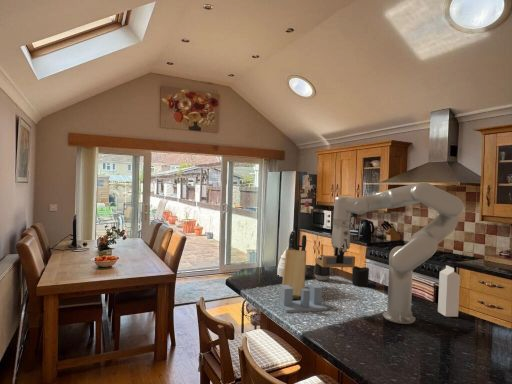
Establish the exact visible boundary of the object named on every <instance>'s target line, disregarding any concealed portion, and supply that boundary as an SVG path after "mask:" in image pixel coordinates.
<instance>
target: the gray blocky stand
mask: <svg viewBox="0 0 512 384" xmlns="http://www.w3.org/2000/svg"><path fill="white" fill-rule="evenodd" d="M279 294H280V295H279V301H278V305H279V306H280V307H281V309H282V310H284V311H285V313H286V314H287V313H288V314H289V313H301V312H302V313H304V312H321V311H328V309H329V307H328V306H326V305H325V304H324V303H323V286H321V285H320V284H318V283H309V285H308V288H304V289H301V300H299V299H297V300H294V299H293V288H292V287H290V286H289V285H282V284H281V285H280V292H279Z"/></svg>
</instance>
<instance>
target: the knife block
mask: <svg viewBox="0 0 512 384" xmlns="http://www.w3.org/2000/svg"><path fill="white" fill-rule="evenodd" d="M295 239H296V231H294V230H292V231H291V232H290V234H289V238H288V246H287V247H288V250H286V249H285V250H286V255H285V264H284V273H283V277H282V284H281V285H289V286H290V287H292V288H293V300H301V289H305V284H306V283H305V282H306V268H307V267H306V266H307V265H306V264H307V250H306V247H307V235H305V234H304V235H302V236H301V244H299V245H297V246H296V242H295V241H296V240H295ZM299 248H300V249H301V250H300V249H299Z"/></svg>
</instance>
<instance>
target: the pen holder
mask: <svg viewBox="0 0 512 384" xmlns="http://www.w3.org/2000/svg"><path fill="white" fill-rule="evenodd" d="M351 269H352V270H351V273H352V274H351V276H352V277H351V280H352V281H351V282H352V283H351V284H352V285H354V286H355V287H361V288H366V287H368V285H369V275H370V268H369V267H367V266H363V267H360V266H357V265H355V267H354V268H352V267H351Z"/></svg>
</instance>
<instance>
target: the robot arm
mask: <svg viewBox="0 0 512 384" xmlns="http://www.w3.org/2000/svg"><path fill="white" fill-rule="evenodd" d="M415 204H422V205H424V206H425V207H427V208H430V209H432V210H433V211H436V215H435V217H434V218H433V219H432V220H430V222H428V223H427V224H426V225H424V227H422V228H420V229H419V230H418V231H416V232H415V233H413V234H412V236H411V237H410V239H409V241H408V242H407V243H406V244H404V245H397V246H395V247H393V248H392V249H391V250H390V252H389V255H388V280H387V281H388V282H387V283H388V285H387V286H388V287H387V305H386V306H387V307H386V310H387V311H384V312H383V313H382V316H383V317H384V319H385V320H387V321H390V322H392V323H396V324H400V325H401V324H402V325H411V324H414V322H415V321H416V317H414V316H413V311H412V293H413V292H412V291H413V271H414V270H415V269H417V268H418V267H419V266H421V265H422V264H423V263H424V262H426V261H427V260H428V259H430V258H431V257H433V255H434V254H435V253H436V252H437V250H438V246H439V243H441V242H442V241H444V240H445V239H446V238H447V237H449V236H450V235H451V234H452V233H453V232H454V231H455V230H456V228H457V226H458V223H459V219H460V215H461V214H462V212H463V211H464V202H463V200H461V199H460V197H457V196H456V195H454V194H452V193H449V192H447V191H446V190H443V189H442V188H441V189H440V188H439V187H437V186H435V185H433V184H432V183H429V182H425V181H422V182H417V183H411V184H408V185H403V186H399V187H395V188H390V189H386V190H384V191H381V192H378V193H373V194H368V195H365V196H360V197H348V196H335V197H334V204H333V206H334V207H333V216H332V218H333V219H332V232H331V245H332V246H331V247H332V248H333V253H334V254H333V256H337V260H336V263H338V264H343V258H344V256H345V254H346V252H347V251H348V250H349V249H350V245H351V229H350V225H351V224H350V223H351V214H355V215H363V214H366V213H368V212H372V211H377V210H383V209H384V210H385V209H387V210H389V209H396V208H401V207H406V206H410V205H415Z"/></svg>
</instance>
